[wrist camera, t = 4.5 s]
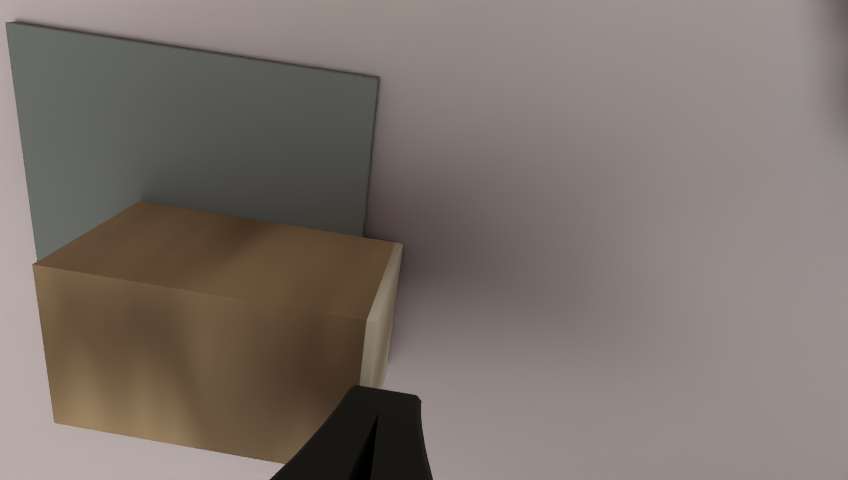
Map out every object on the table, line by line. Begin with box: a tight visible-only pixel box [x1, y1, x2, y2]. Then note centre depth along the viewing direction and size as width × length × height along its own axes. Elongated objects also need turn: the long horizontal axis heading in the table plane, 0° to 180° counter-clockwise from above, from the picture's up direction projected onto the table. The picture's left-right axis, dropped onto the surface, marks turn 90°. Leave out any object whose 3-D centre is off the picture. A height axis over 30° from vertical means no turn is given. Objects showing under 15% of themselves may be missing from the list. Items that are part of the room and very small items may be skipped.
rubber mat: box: [5, 22, 380, 262], centre depth 16 cm, size 12×9×1 cm
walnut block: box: [32, 201, 403, 464], centre depth 14 cm, size 4×4×7 cm
